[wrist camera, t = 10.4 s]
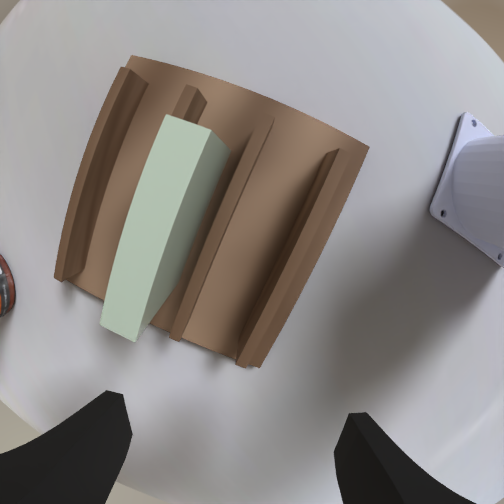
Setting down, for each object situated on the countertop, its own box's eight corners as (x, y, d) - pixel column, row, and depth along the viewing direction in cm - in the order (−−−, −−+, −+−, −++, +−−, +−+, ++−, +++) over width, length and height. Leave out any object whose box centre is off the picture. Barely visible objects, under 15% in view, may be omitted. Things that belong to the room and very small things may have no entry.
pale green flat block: (231, 150, 15) (211, 130, 9) (178, 282, 17) (135, 342, 10) (204, 140, 15) (166, 114, 9) (154, 271, 17) (99, 324, 10)
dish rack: (364, 148, 16) (389, 141, 12) (259, 361, 19) (259, 395, 16) (136, 59, 15) (112, 38, 11) (63, 271, 18) (33, 288, 15)
